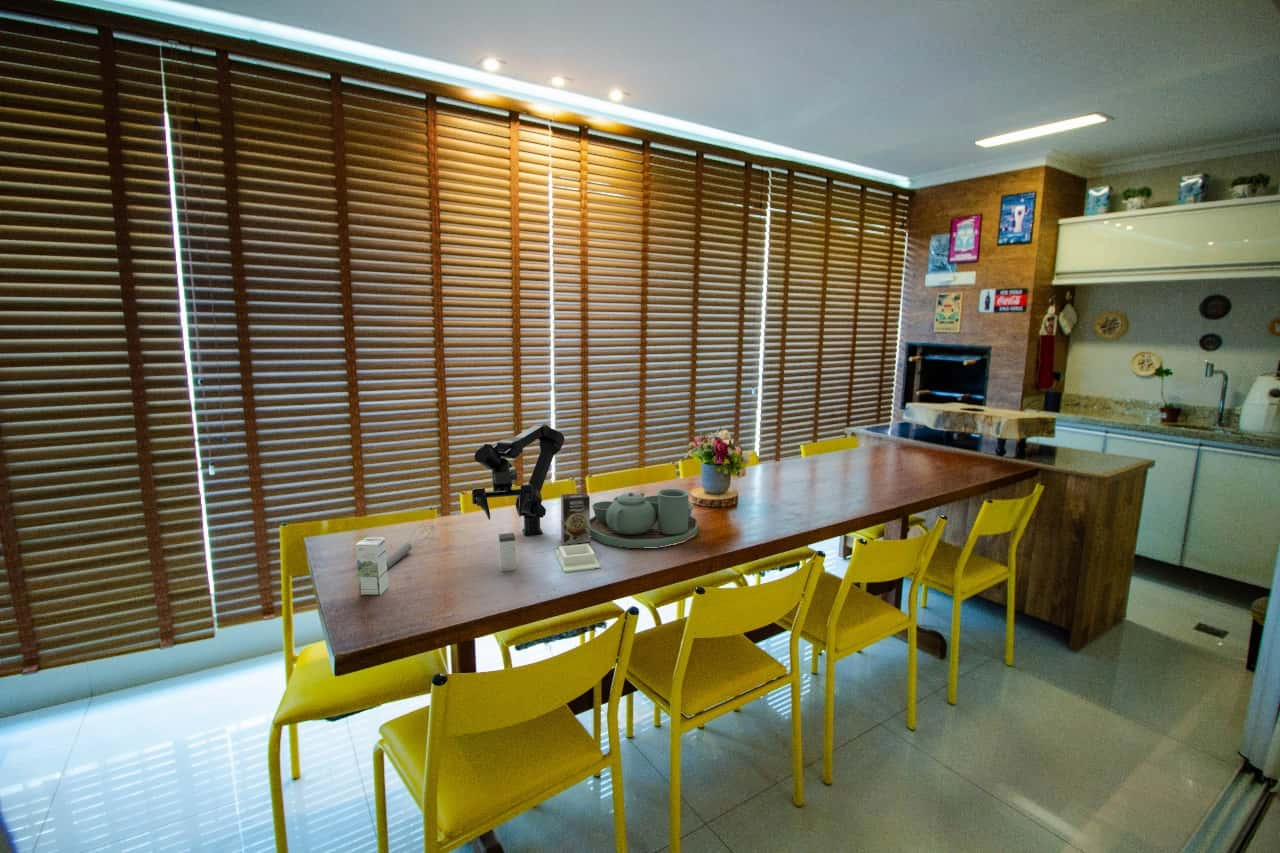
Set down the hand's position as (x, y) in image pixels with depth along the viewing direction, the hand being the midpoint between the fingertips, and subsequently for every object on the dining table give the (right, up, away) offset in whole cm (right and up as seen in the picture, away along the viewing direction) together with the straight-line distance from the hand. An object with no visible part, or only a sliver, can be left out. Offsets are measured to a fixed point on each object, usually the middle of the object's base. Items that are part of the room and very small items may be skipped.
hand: (504, 517), depth 175 cm
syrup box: (-31, -17, -21) cm, 41 cm away
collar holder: (+22, -13, +2) cm, 26 cm away
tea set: (+42, -10, +30) cm, 53 cm away
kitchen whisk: (-33, -13, +9) cm, 36 cm away
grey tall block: (+2, -14, -4) cm, 15 cm away
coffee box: (+20, -11, +19) cm, 30 cm away
